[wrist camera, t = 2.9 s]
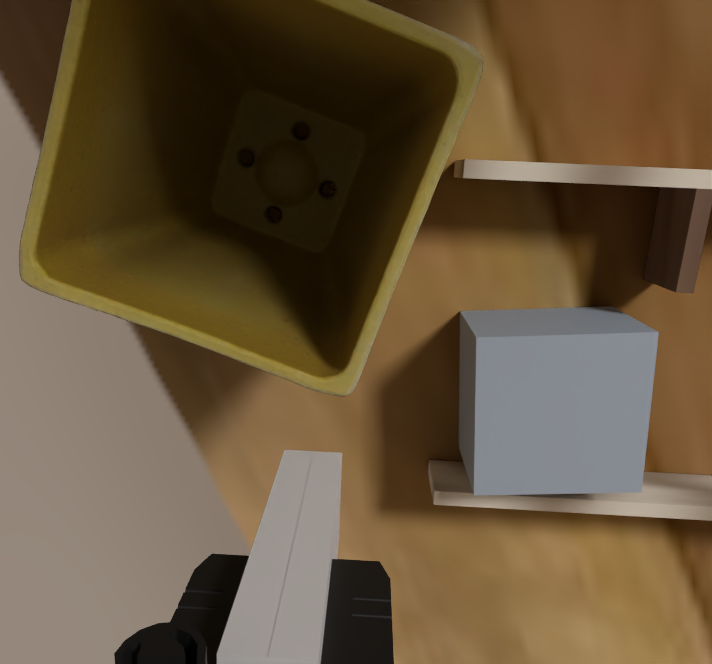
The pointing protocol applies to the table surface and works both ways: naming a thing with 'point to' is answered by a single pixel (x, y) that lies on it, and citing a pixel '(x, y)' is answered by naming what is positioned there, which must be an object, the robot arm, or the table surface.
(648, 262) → the wooden wall shelf
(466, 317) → the slate block
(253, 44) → the flower pot
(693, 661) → the table surface
